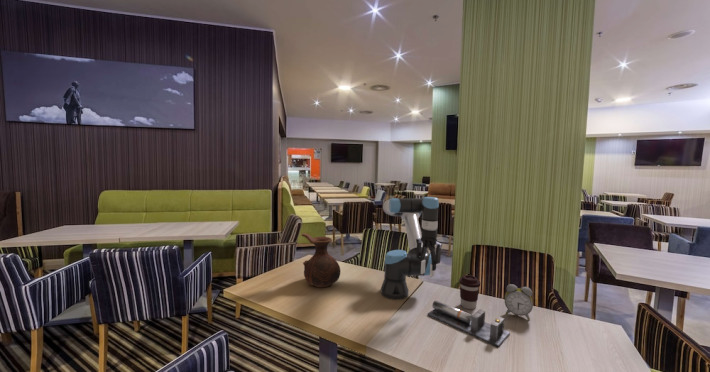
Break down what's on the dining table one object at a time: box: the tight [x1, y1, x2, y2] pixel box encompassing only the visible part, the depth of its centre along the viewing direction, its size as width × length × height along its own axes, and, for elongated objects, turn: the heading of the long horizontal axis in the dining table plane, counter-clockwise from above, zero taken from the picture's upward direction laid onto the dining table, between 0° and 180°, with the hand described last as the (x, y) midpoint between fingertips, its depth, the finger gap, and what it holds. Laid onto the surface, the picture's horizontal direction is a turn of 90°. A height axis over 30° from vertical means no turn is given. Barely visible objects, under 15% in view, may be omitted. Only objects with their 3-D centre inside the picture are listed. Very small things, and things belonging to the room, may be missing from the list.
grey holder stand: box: [427, 308, 511, 348], centre depth 130 cm, size 32×13×8 cm, turn 44°
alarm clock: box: [504, 283, 534, 321], centre depth 138 cm, size 12×7×15 cm, turn 62°
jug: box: [301, 232, 341, 288], centre depth 170 cm, size 22×22×30 cm
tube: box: [431, 300, 473, 324], centre depth 135 cm, size 18×4×4 cm, turn 44°
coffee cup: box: [458, 274, 481, 310], centre depth 147 cm, size 10×10×15 cm
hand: (427, 274), depth 144 cm, fingers open, 4 cm apart
